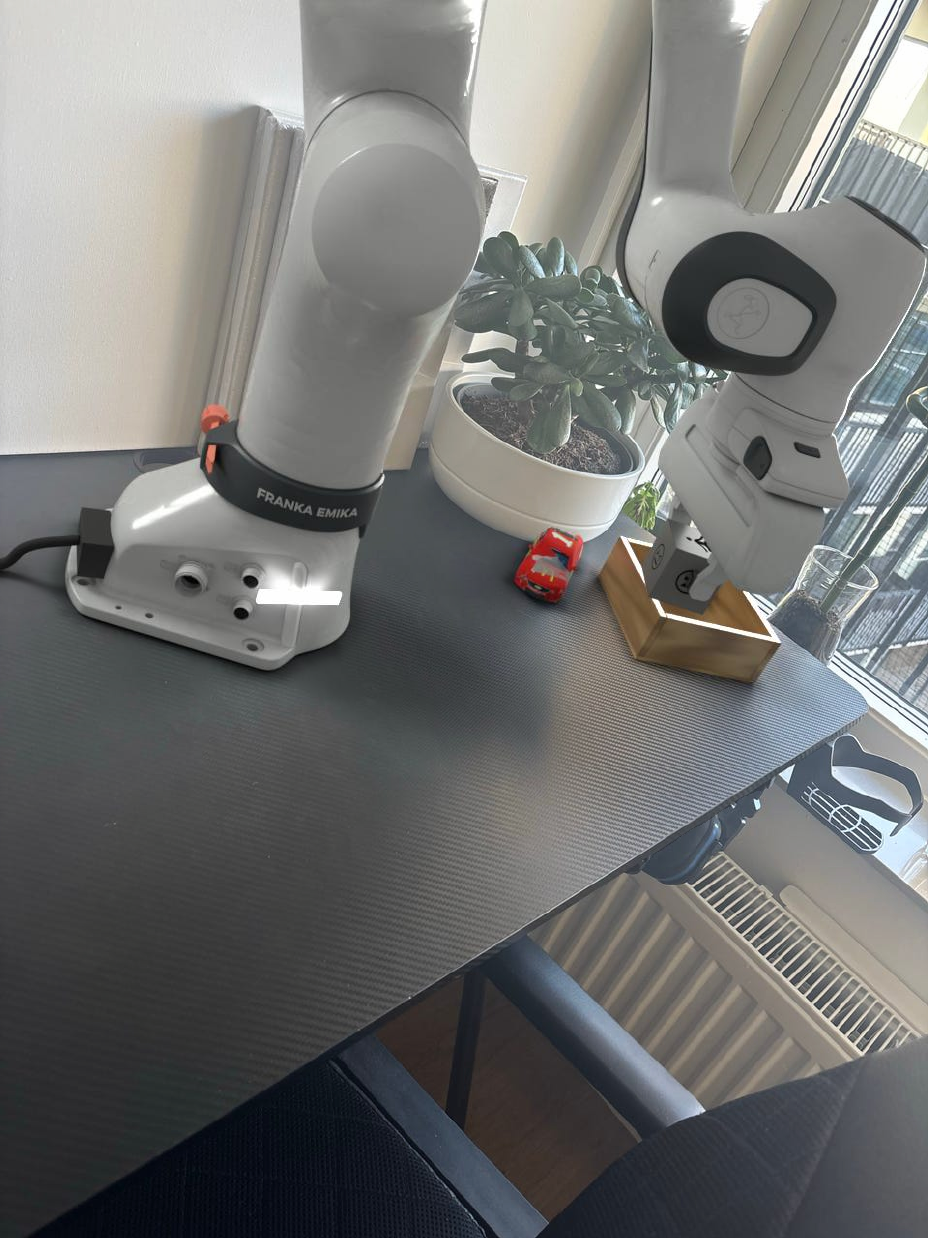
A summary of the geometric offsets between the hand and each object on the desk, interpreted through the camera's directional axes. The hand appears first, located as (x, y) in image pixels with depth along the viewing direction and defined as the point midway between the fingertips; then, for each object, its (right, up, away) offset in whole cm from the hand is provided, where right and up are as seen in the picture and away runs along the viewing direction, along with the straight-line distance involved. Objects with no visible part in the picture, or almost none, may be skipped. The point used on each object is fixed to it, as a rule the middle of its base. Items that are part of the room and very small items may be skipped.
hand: (681, 571), depth 80 cm
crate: (+4, -5, +20) cm, 21 cm away
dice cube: (-1, -2, +1) cm, 2 cm away
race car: (-10, +1, +19) cm, 22 cm away
